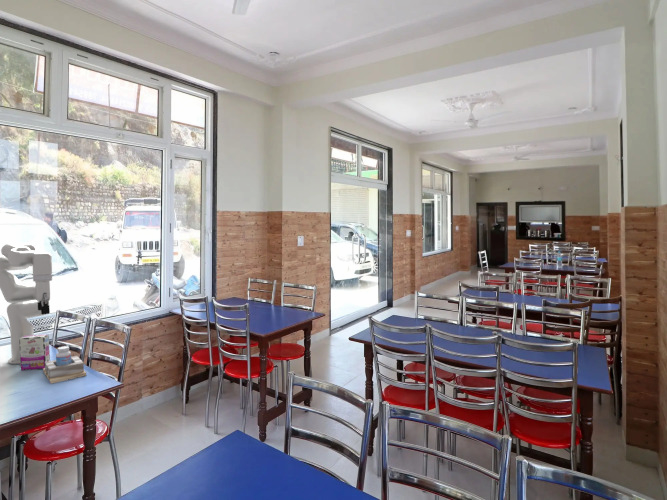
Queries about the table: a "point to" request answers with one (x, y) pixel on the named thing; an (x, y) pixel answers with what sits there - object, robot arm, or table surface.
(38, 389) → the table surface
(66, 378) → the collar block
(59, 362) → the pill bottle
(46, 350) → the candy bar box
